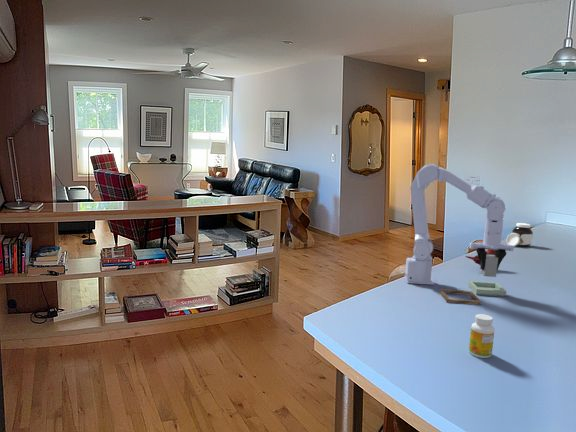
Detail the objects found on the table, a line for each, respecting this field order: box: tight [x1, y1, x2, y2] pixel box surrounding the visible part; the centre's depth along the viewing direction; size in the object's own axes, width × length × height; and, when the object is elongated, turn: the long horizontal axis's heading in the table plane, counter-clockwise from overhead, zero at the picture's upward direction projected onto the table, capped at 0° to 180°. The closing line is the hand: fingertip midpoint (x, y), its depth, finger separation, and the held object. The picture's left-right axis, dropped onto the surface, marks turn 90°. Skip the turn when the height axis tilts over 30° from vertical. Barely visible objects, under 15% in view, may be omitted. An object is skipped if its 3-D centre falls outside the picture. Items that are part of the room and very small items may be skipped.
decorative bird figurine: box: [465, 249, 495, 270], centre depth 199 cm, size 3×18×10 cm, turn 112°
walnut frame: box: [438, 288, 482, 305], centre depth 161 cm, size 11×11×1 cm
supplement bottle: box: [468, 313, 495, 359], centre depth 118 cm, size 5×5×10 cm
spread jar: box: [505, 222, 534, 248], centre depth 251 cm, size 12×11×12 cm
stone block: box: [480, 255, 498, 278], centre depth 169 cm, size 4×4×7 cm
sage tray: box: [467, 280, 507, 298], centre depth 170 cm, size 10×10×2 cm
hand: (488, 269), depth 169 cm, fingers closed on stone block, 4 cm apart
